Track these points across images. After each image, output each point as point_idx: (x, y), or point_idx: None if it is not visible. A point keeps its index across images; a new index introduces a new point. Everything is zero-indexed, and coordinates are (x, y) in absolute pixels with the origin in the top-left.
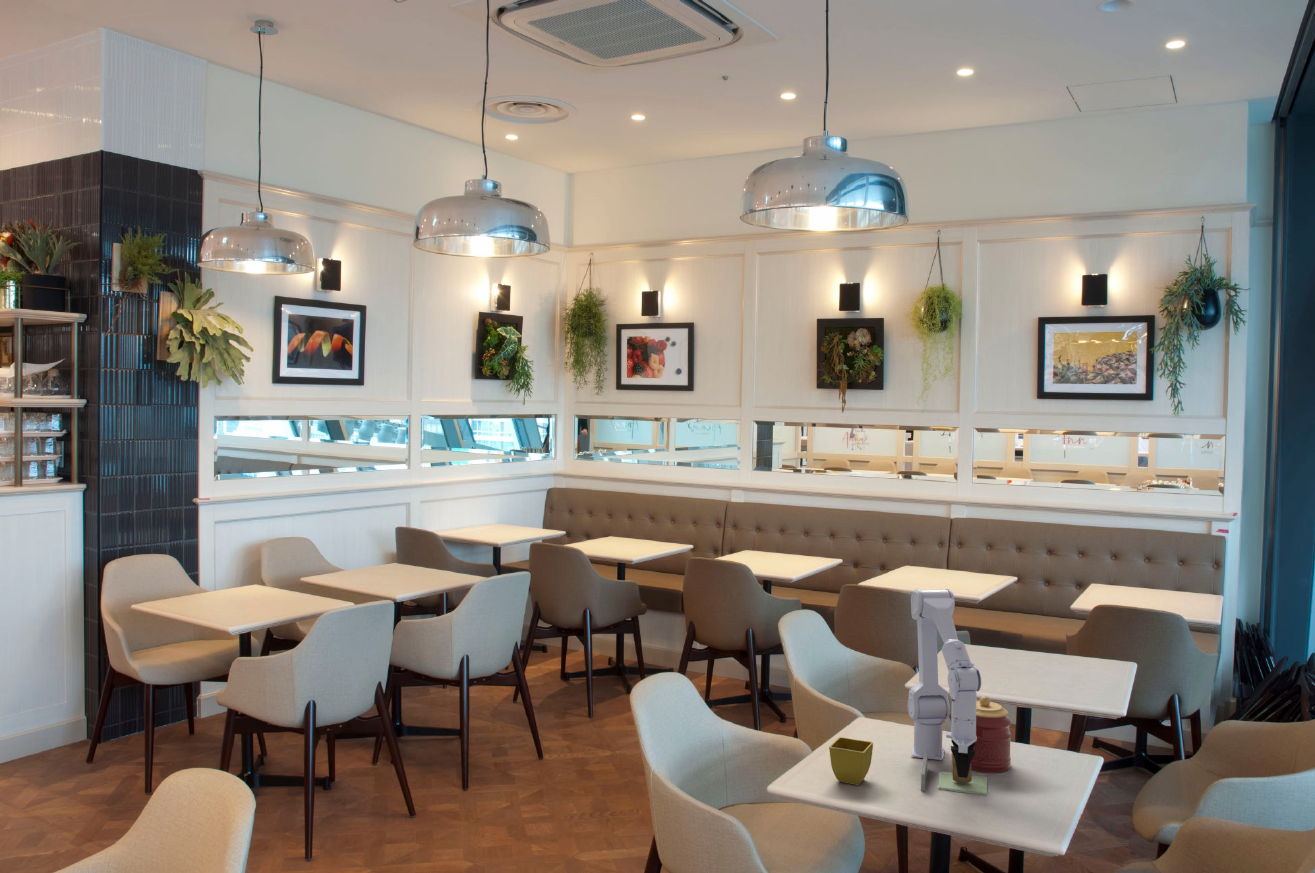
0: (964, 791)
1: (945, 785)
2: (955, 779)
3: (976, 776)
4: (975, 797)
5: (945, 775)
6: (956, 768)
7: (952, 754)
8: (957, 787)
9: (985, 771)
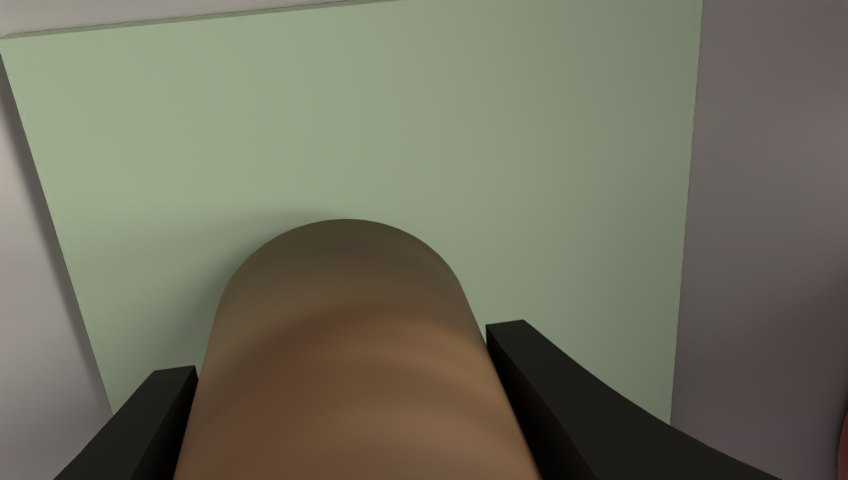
0: (101, 364)
1: (138, 129)
2: (232, 282)
3: (650, 407)
4: (17, 477)
5: (559, 71)
6: (198, 400)
7: (306, 473)
8: (155, 284)
9: (841, 450)
